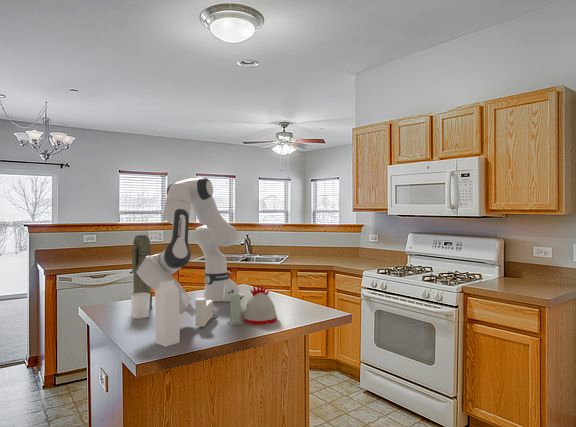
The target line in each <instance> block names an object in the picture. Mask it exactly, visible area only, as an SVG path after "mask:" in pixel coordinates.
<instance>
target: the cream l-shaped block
mask: <svg viewBox="0 0 576 427" xmlns="http://www.w3.org/2000/svg"><path fill="white" fill-rule="evenodd" d="M213 304H214V302H213V300H206V298H203V297H198V298H195V303H194V305H195V308H194V309H195V315H194V316H195V320H194V321H195V327H206V325H207V323H208V322H209V321H211V320H212V319H211V318H212V317H213Z"/></svg>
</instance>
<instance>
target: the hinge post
mask: <svg viewBox="0 0 576 427" xmlns="http://www.w3.org/2000/svg"><path fill="white" fill-rule="evenodd" d="M208 300H213V298H209V299H208ZM214 310H215V309H214V303H213V317H212V318H211V319H210V320H212V319H217V318H218V314H215V312H214Z"/></svg>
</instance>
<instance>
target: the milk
mask: <svg viewBox="0 0 576 427" xmlns="http://www.w3.org/2000/svg"><path fill="white" fill-rule="evenodd" d="M154 297H155V299H154V301H155V302H154V304H155V305H154V307H155V311H154V312H155V315H154V316H155V317H154V318H155V319H154V320H155V322H154V324H155V344H156V345H159V346H161V347H165V348H166V347H170V346H173V345H176V344H179V343H181V341H180V339H181V338H180V337H181V336H180V330H181V328H180V313H179V289H178V288H177V287H176V286H175V285H174V280H172V281H166V282H160V287H159V288H158V289H156V290H155V291H154Z"/></svg>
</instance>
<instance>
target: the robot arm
mask: <svg viewBox="0 0 576 427" xmlns="http://www.w3.org/2000/svg"><path fill="white" fill-rule="evenodd" d="M213 194H214V187H213V183H212V181H211V180H210V179H208V178H207V177H198V178H188V179H183V180H180V181H174V182H172V183H170V184H169V185H168V186H167V188H166V197H165V203H164V209H163V212H164V219H165V220H166V221H167V222H168V223H169V224H171V225H172V228H171V229H172V230H171V231H172V232H171V240H170V242H169V244H168V245H167V246H166V247H165V249H164V250H163V251H162V252H159V253H156V254H154V255H151V256H145V257H144V258H143V259H142V261H141V262H140V263H139V265H138V266H137V268H136V272H137V274H138V276H139V277H140V278H141V279H142V280H143V281H144V282H145V283H146V284H147V285H148V286H149V287H151V290H153V292H155V290H156V289H158V288H159V287H160V282H166V281H172V280H174V285H175V286H176V287H177V288H178V289H179V315H182V314H184V312H186V313H187V314H189V315H190V316H192V317H194V316H195V308H194V307H193V306H192V304H191V303H190V301H191V296H190V295H189V294H188V293H187V291H186V290H185V289H184V288H183V287H182V286H181V283H180V282H179V281H178V280H176V279H175V278H174V277H173V276H172V274H174V273H176V272H177V271H179V270H180V269H181V268H183V267H185V266H186V265H187V264H188V263H189V262H190V260H191V257H192V256H191V255H192V254H191V248H190V246H189V225H190V215H191V208H193V211H194V214H195V216H196V218H197V220H198V222H199V223H200V224H201V226H197V227H196V228H195V229H194V231H193V241H194V242H195V244H197V245H198V247H199V248H200V249H201V251H202V253H203V256H204V263H205V264H204V265H205V267H204V268H205V272H204V283H205V284H204V291H203V296H202V298H206V300H208V299H209V298H213V303H216V302H230V295H232V294H239V295H240V298H243V297H244V296H245V295H244V293H241V292H240V288H239V285H238V284H237V283H236V282H235V281H233V280H232V279H231V278H230V277H233V275H234V273H233V271H229V272H228V268H227V267H228V266H227V264H228V263H227V262H228V261H227V257H226V255H225V254H224V253H223V252H221V250H220V248H219V247H230V246H235V245H236V244H237V242H238V240H239V232H238V229H237V228H236V227H235V226H233V225H231V224H230V223H228V222H227V220H226V219H225V218H223V216H222V215H221V213H220V211H219V209H218V207H217V204H216V201H215V198H214V196H213ZM191 206H192V207H191Z"/></svg>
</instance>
